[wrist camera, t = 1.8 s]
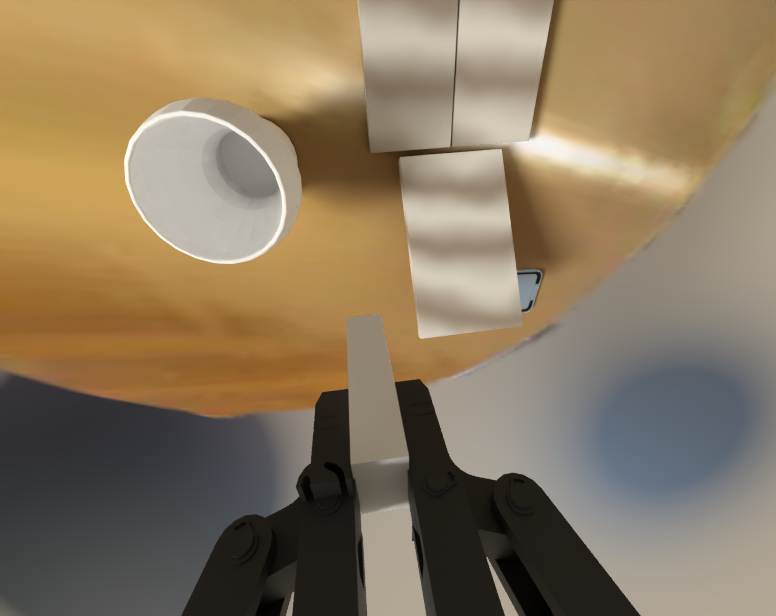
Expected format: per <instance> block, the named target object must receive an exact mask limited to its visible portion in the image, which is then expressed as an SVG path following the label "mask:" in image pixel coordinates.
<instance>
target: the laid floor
mask: <svg viewBox="0 0 776 616" xmlns="http://www.w3.org/2000/svg"><path fill="white" fill-rule="evenodd" d="M553 3H554V0H358V12H359V25H360V38H361V50H362V63H363V76H364V89H365V101H366V114H367V127H368V140H369V151H370V153H380V152H393V151H406V150H418V149H431V148H444V147H450V146H451V147H457V146H469V145H482V144H495V143H507V142H520V141H529V136H530V131H531V125H532V120H533V114H534V109H535V103H536V97H537V92H538V86H539V81H540V75H541V70H542V64H543V58H544V53H545V47H546V42H547V36H548V31H549V25H550V19H551V14H552V8H553Z"/></svg>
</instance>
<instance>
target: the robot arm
mask: <svg viewBox="0 0 776 616" xmlns="http://www.w3.org/2000/svg"><path fill="white" fill-rule="evenodd" d="M346 323H347V357H348V389H345V390H337V391H329V392H322V394H321V396H320V398H319V399H318V401H317V403H316V406H315V421H314V432H313V442H312V455H311V464H309V465H308V466H307V467H306V468H305V469H304V470H303V472H302V473H301V475H300V476H299V478H298V482H297V485H296V489H297V491H298V493H299V497H298V498H297V499H296V500H295V501H294V502H293V503H292V504H290V505H289V506H287V507H285V508H283V509H281V510H279V511H278V512H276V513H274V514H272V515H270V516H268V517H266V518H264V517H262V516H259V515H256V514H255V515H246V516H243V517H241V518H239V519H237V520H236V521H234V522H233V523H232V524H231V525H230V526H229V527H227V528H226V529H225V531H224V532H223V533H222V535H221V536H220V538H219V540H218V541H217V543H216V545H215V547H214V549H213V551H212V553H211V555H210V557H209V559H208V561H207V563H206V566H205V568H204V570H203V572H202V574H201V576H200V578H199V580H198V582H197V584H196V586H195V588H194V590H193V593H192V595H191V597H190V599H189V601H188V603H187V605H186V607H185V609H184V611H183V613H182V616H286V613H287V609H288V605H289V602H290V598H291V594H292V592H294V602H293V613H292V616H367V605H366V587H365V570H364V551H363V537H362V532H361V515H362V514H368V513H375V512H381V511H386V510H393V509H399V508H405V507H409V506H410V512H411V517H412V541H414V542H415V549H416V555H417V561H418V567H419V573H420V579H421V585H422V591H423V597H424V602H425V609H426V615H427V616H505V615H504V612H503V609H502V606H501V602H500V599H499V596H498V593H497V590H496V587H495V583H494V580H493V577H492V574H491V571H490V568H489V565H488V562H487V558H486V557H488V559H489V561H490V563H491V565H492V567H493V568H494V570H495V572H496V574H497V576H498V578H499V580H500V581H501V583H502V585H503V587H504V589H505V591H506V592H507V594H508V596H509V598H510V600H511V602H512V604H513V605H514V607H515V609H516V611H517V613H518V615H519V616H640V615H639V613H638V612H637V611H636V609H635V608H634V607H633V606H632V604H631V603H630V602H629V600H628V599H627V598H626V597H625V595H624V594H623V593H622V591H621V590H620V589H619V587H618V586H617V585H616V584H615V582H614V581H613V580H612V578H611V577H610V576H609V575H608V573H607V572H606V571H605V569H604V568H603V567H602V566H601V564H600V563H599V562H598V560H597V559H596V558H595V557H594V555H593V554H592V553H591V551H590V550H589V549H588V548H587V546H586V545H585V544H584V543H583V541H582V540H581V539H580V537H579V536H578V535H577V533H576V532H575V531H574V530H573V528H572V527H571V526H570V524H569V523H568V522H567V521H566V519H565V518H564V517H563V515H562V514H561V513H560V512H559V511H558V509H557V508H556V506H555V505H554V504H553V503H552V501H551V500H550V499H549V497H548V496H547V495H546V494H545V492H544V491H543V490H542V488H541V487H540V486H538V485H537V484H536V483H535V482H534V481H533V480H532V479H530V478H528V477H526V476H524V475H522V474H517V473H509V474H504V475H503V476H501V477H500V478H499V479H498V480H497V481H496V480H491V479H486V478H480V477H476V476H472V475H469V474H467V473H465V472H464V471H462V470H460V469H459V468H458V467H457V466H456V465H455V464H454V463H453V461H452V460H451V458H450V456H449V454H448V451H447V448H446V445H445V441H444V438H443V435H442V432H441V428H440V425H439V422H438V419H437V416H436V413H435V409H434V406H433V404H432V400H431V396H430V393H429V390H428V388H427V387H426V386H425V385H424V384H423V383H422V381H421V380H420V379H417V380H409V381H401V382H394V377H393V372H392V367H391V362H390V357H389V352H388V347H387V342H386V337H385V331H384V326H383V321H382V316H381V314H376V315H367V316H357V317H348V318H346Z"/></svg>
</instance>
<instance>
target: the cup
mask: <svg viewBox="0 0 776 616" xmlns="http://www.w3.org/2000/svg"><path fill="white" fill-rule="evenodd" d="M124 165H125V181H126V184H127V187H128V190H129V193H130V196H131V199H132V202H133V204H134V205H135V207H136V208H137V210H138V212H139V213H140V215H141V216H142V218H143V220H144V221H145V222H146V223H147V224H148V225H149V226H150V227H151V228H152V230H153V231H154V232H155V233H156V234H157V235H158V236H159V237H160V238H162V239H163V240H165V241H166V242H167V243H169V244H170V245H171V246H173V247H174V248H176V249H177V250H179V251H181V252H183V253H186V254H188V255H190V256H192V257H194V258H197V259H201V260H205V261H209V262H213V263H227V264H235V263H240V262H245V261H249V260H252V259H254V258H256V257H258V256H260V255H262V254H264V253H266V252H267V251H269V250H270V249H272V248H273V247H275V246H276V245H277V244H278V243H279V242H280V241H282V240H283V239H284V238H285V237H286V236H287V235H288V233H289V231H290V230H291V228H292V226H293V224H294V222H295V221H296V218H297V215H298V212H299V207H300V203H301V198H302V185H301V176H300V172H299V169H298V162H297V155H296V152H295V149H294V146H293V144H292V143H291V141H290V139H289V137H288V136H287V135H286V134H285V133H284V132H283V131H282V130H281V128H279V127H278V126H276V125H275V124H274V123H272V122H271V121H268V120H266V119H263V118H261V117H260V116H258V115H257V114H256V113H254V112H253V111H251V110H250V109H248V108H245V107H243V106H240V105H238V104H235V103H232V102H230V101H226V100H217V99H209V98H191V99H186V100H181V101H176V102H171V103H170V104H168V105H167V106H165V107H163V108H162V109H160V110H158V111H157V112H155V113H153V114H152V115H151V116H150V117H149V118H148V119H147V120H146V121H145V122H144V123H143V124H142V125H141V126H140V127H139V129H138V130H137V131H136V133H135V134H134V135H133V137H132V138H131V139H130V141H129V145H128V148H127V152H126V155H125V159H124Z"/></svg>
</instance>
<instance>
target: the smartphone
mask: <svg viewBox="0 0 776 616" xmlns="http://www.w3.org/2000/svg"><path fill="white" fill-rule="evenodd" d="M517 278H518V286H519V294H520V302H521V311H522V313H526V312H529V311H530V310H531V309H532V307H533V304H534V301H535V298H536V295H537V292H538V289H539V285H540V282H541V279H542V272H541V271H540V270H539V269H517Z"/></svg>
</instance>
